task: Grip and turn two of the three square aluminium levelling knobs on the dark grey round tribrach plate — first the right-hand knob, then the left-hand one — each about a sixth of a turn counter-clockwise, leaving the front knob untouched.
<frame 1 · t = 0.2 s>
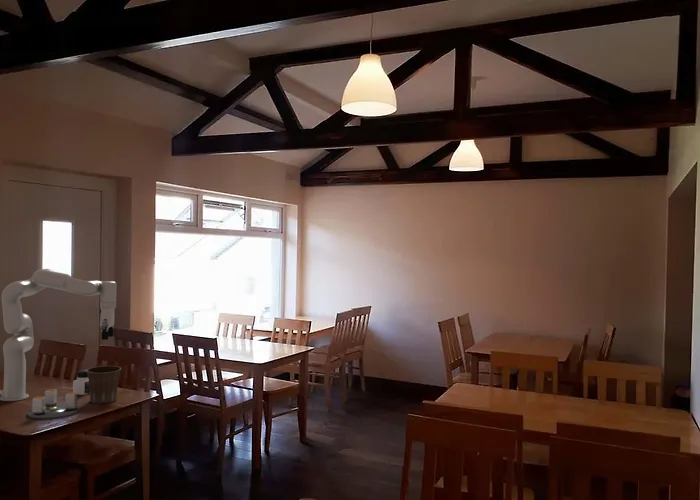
hand: (107, 338, 294), 31 cm above the table, tool pointing down, fingers open, 9 cm apart
medicine bottle: (83, 393, 303), on the table
knob front: (71, 400, 267), point 6 cm above the table, hinge at 0.0°
plant pot: (103, 401, 289), on the table
knob left: (51, 397, 272), point 6 cm above the table, hinge at 0.0°
tribrach plate: (53, 412, 266), on the table
knob right: (39, 404, 259), point 6 cm above the table, hinge at 0.0°
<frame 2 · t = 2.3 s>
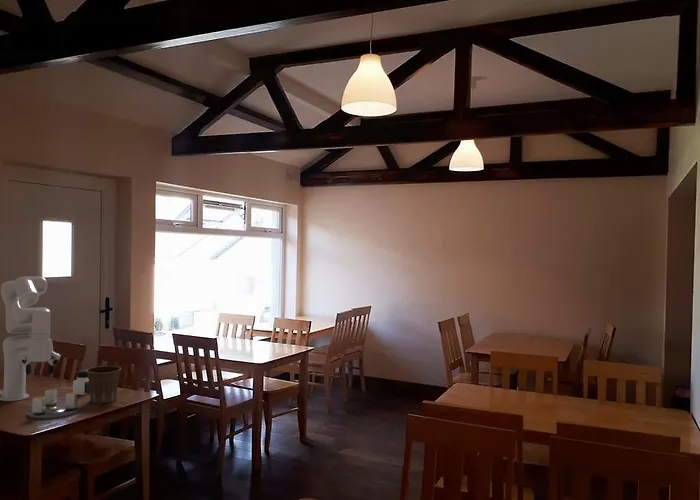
hand: (39, 373, 259), 20 cm above the table, tool pointing down, fingers open, 9 cm apart
nothing on the table moved.
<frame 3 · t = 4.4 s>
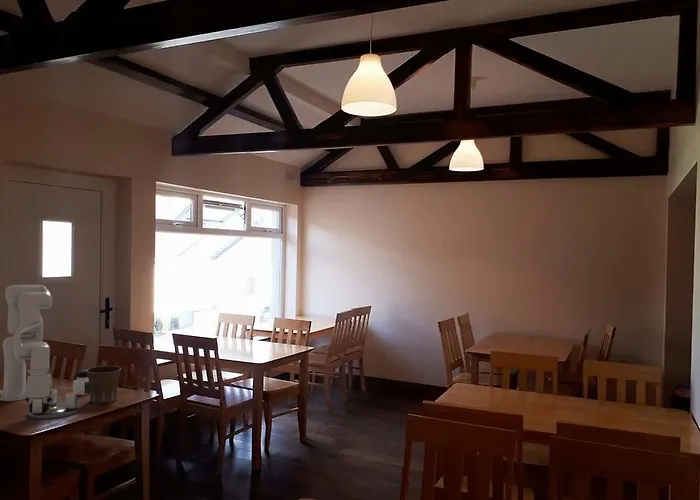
hand: (38, 411, 259), 3 cm above the table, tool pointing down, fingers closed on knob right, 4 cm apart
knob right: (39, 404, 259), point 6 cm above the table, hinge at 0.2°, touching gripper
everything else where it was.
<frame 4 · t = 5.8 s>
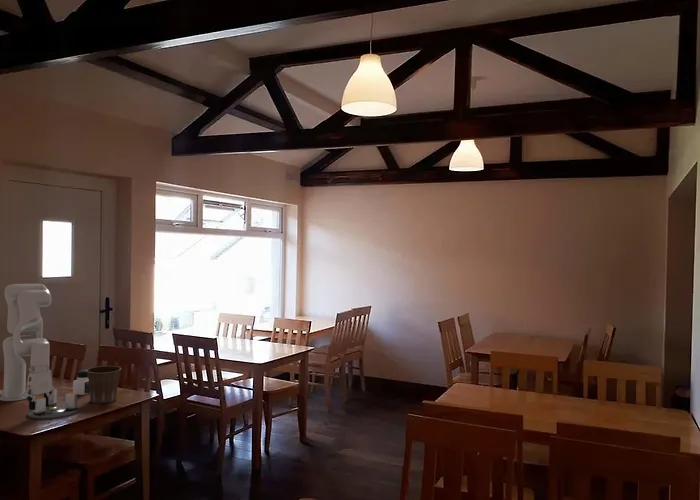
hand: (38, 407, 259), 4 cm above the table, tool pointing down, fingers open, 6 cm apart
knob right: (38, 405, 259), point 6 cm above the table, hinge at 45.5°
everything else where it was.
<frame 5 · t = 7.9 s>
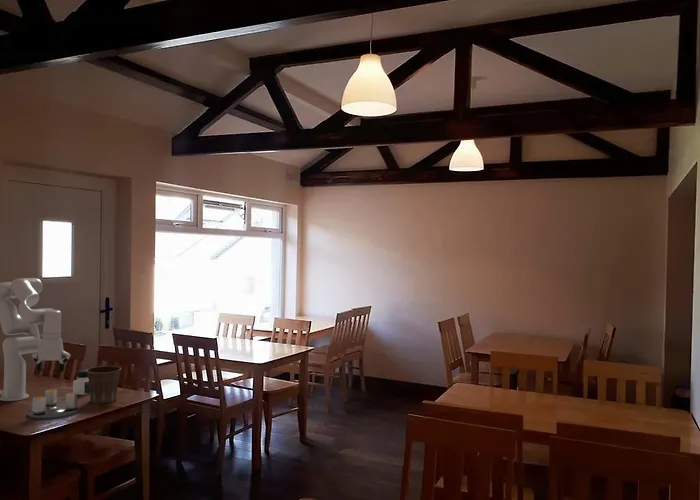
hand: (50, 371, 272), 18 cm above the table, tool pointing down, fingers open, 9 cm apart
knob right: (38, 405, 259), point 6 cm above the table, hinge at 46.8°
everything else where it was.
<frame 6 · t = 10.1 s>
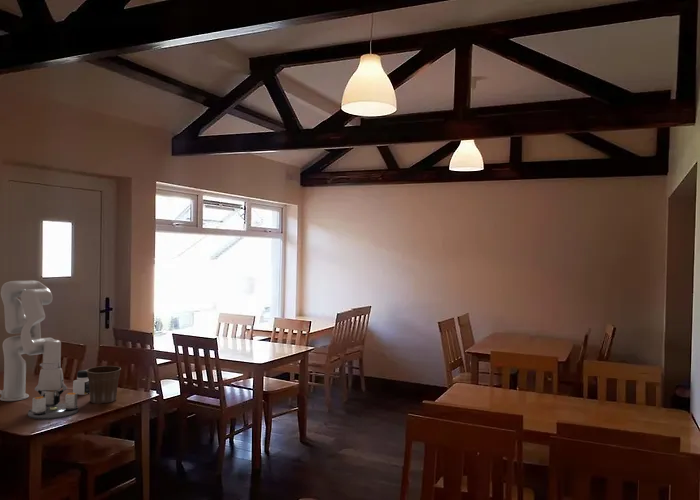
hand: (50, 403, 272), 3 cm above the table, tool pointing down, fingers closed on knob left, 4 cm apart
knob left: (51, 397, 272), point 6 cm above the table, hinge at -0.2°, touching gripper
everything else where it was.
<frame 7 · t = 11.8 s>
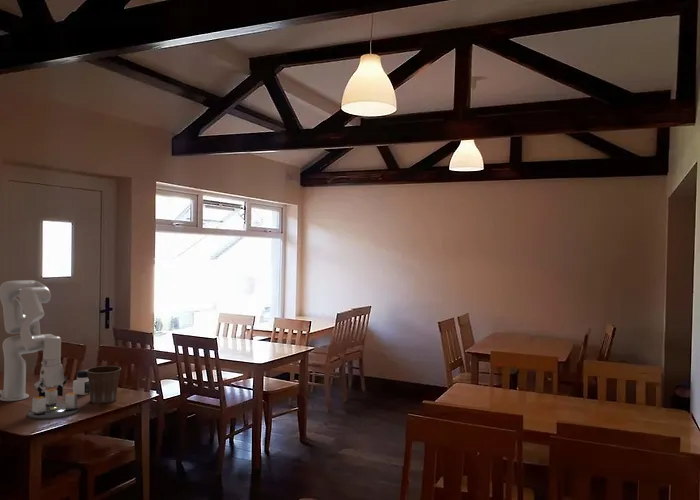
hand: (50, 397, 272), 5 cm above the table, tool pointing down, fingers open, 9 cm apart
knob left: (50, 397, 272), point 6 cm above the table, hinge at 51.0°
everything else where it was.
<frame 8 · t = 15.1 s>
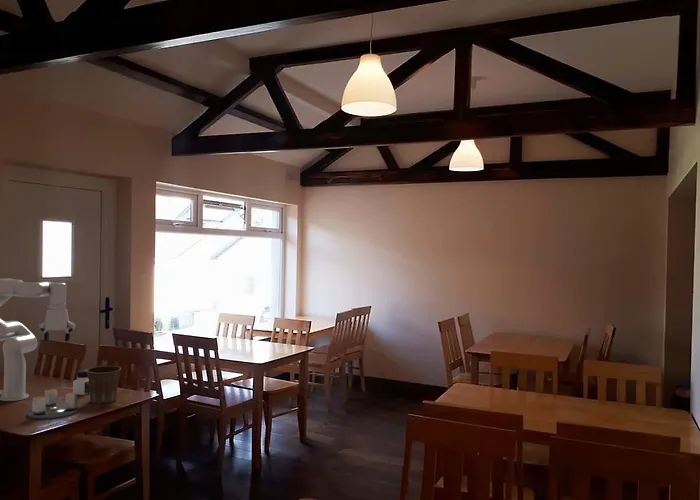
hand: (56, 341, 286), 30 cm above the table, tool pointing down, fingers open, 9 cm apart
nothing on the table moved.
at the end: knob right at +47° (first picture: +0°); knob left at +51° (first picture: +0°); knob front at +0° (first picture: +0°) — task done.
